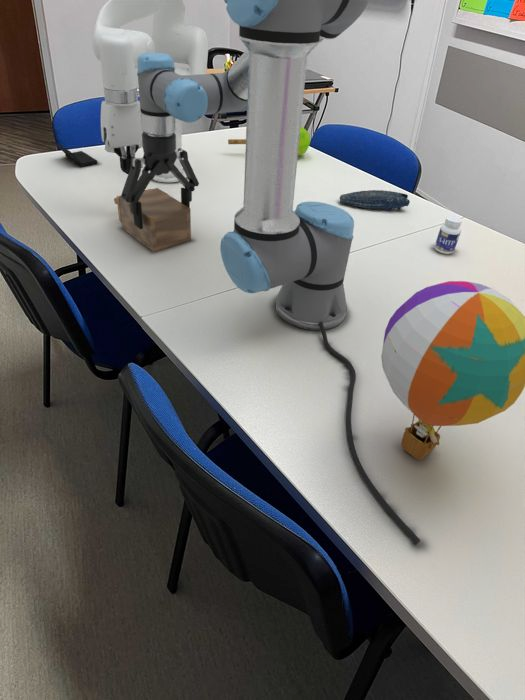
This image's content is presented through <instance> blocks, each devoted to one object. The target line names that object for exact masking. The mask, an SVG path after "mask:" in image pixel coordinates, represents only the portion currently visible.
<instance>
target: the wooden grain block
mask: <svg viewBox="0 0 525 700" xmlns="http://www.w3.org/2000/svg"><path fill="white" fill-rule="evenodd" d="M150 189H151V190H147V189H145V190H146V191H144V192H143V194H142V196H141V197H140V199H139V202H141V208H142V222H143V229H139V228H138V227H137V226H135V225H134V215H132V214H131V212H130V202H129V203H128V202H126V201H125V200H123V199H122V198H121V195H118V196H119V199H120V209H121V218H122V222H121V228H122V230H123V231H125V232H126V233H128V234H129V235H130V236H132V237H133V238H134V239H135V240H137V241H138V242H139V243H141V244H142V245H143V246H144V247H146V248H147V249H149V251H151V252H153V253H154V252H157V251H161V250H164V249H169V248H172V247H175V246H178V245H181V244H184V243H189V242H191V241H192V228H191V227H192V225H191V222H192V221H191V217H192V216H191V207H190V208H189V207H187V206H186V205H184V204H182V203H181V201H179V200H177V199H176V198H174V196H172V195H170V194H168V193H167V192H166V191H163V190H161V189H160V188H159V187H155V188H150Z"/></svg>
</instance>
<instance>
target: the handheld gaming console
mask: <svg viewBox="0 0 525 700" xmlns="http://www.w3.org/2000/svg"><path fill="white" fill-rule="evenodd" d="M53 143H54V144H55V145H56V146H57V148H59V149H60V150H61V151H62V152H63V153H64V154H65V158H67V159H68V160H71V161H72V162H74V163H75V164H77V165H78V166H79V167H85V166H90V165H95V164H98V160H97V159H96V158H94V157H92V156H91V155H89V154H88V153H86V152H85V151H83V150H80V151H73V152H72V151H70V150H69V149H67V148H66V147H64V146H63V145H61V144H59V142H56V141H55V140H54V141H53Z"/></svg>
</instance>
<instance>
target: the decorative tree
mask: <svg viewBox="0 0 525 700" xmlns="http://www.w3.org/2000/svg"><path fill="white" fill-rule="evenodd" d="M227 144H228V145H246V138H244V139H243V138H241V139H239V138H237V139H236V138H235V139H233V138H230V139H227ZM310 145H311V136H310V133H309V132H308V131H307V130H306V129H305V128H304V127H303V126H302V125H301V127H300V138H299V148H298V157H300V156H302V155H305V154H306V153H307V151H308V148H309V147H310Z"/></svg>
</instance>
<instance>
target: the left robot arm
mask: <svg viewBox="0 0 525 700" xmlns="http://www.w3.org/2000/svg"><path fill="white" fill-rule="evenodd" d="M185 6H186V5H185V2H184V0H107V1H106V3H104V4H103V6H102V7H101V8H100V10H99V12H98V15H97V18H96V21H95V24H94V28H93V32H92V39H91V40H92V41H91V44H92V50H93V54H94V56H95V58H96V59H97V60H98V61H100V66H101V67H100V68H101V75H102V85H103V93H104V94H103V95H104V100H102V101H101V104H100V105H101V106H100V134H101V141H102V142H103V144H104V151H105V152H107V153H112V154H115V155H117V156H118V157H119V166H120V170H121V172H123V173H125V175H128V174H129V171H130V168H131V158H132V157H135V158H136V153H137V152H138V150H139V149H143V144H142V133H143V131H142V127H141V111H140V100H139V87H137V78H136V77H137V73H136V69H138V57H139V55H141V54H143V53H151V52H154V53H164V54H168V55H170V56H171V57H172V58H173V61H174V64H175V63H176V64H183V65H188V66H189V67H187V68H186V67H177V66H174V67H175V71H174V72H175V73H177V74H179V75H199V74H207V68H208V58H209V57H208V56H209V41H208V35H207V34H206V31H205V30H204V29H203V28H202V27H199V26H195V25H186V24H185V14H186V13H185V12H186V7H185ZM149 16H152V17H153V18H152V20H153V21H152V31H151V32H152V34H151V36H150V34H148V33H146V32H144V31H140V30H132V29H128V28H127V29H126V28H121V27H123V26H125V25H126V24H128V23H131V22H135V21H139V20H142V19H144V18H146V17H149ZM175 122H176V131H175V132H174V133H175V135H176V150H175V152H176V151H178V149H179V148H181V149H183V148H182V146H183V144H182V143H183V142H182V140H183V139H182V121H181V120H179V119H176V118H175ZM174 165H175V166H176V167H177V168H178V170H179V171H180V172H181V174H182V175H183V176H184V177H185V178H186V179H187V176H186V174H185V172H184V170H183V167H182V165H181V163H180V161H179V159H176V161H175V163H174ZM148 173H150V171H148ZM151 181H155V182H159V183H168V184H169V183H178V182H179V180H178V179H177V178H176V177H175V176H174V175H173V174H172V173H171V172H169V173H168V174H161V175H158V176H157V175H155V177H154V178H153V179H151Z"/></svg>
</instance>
